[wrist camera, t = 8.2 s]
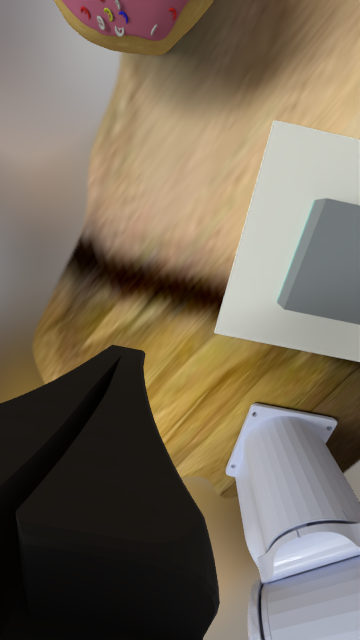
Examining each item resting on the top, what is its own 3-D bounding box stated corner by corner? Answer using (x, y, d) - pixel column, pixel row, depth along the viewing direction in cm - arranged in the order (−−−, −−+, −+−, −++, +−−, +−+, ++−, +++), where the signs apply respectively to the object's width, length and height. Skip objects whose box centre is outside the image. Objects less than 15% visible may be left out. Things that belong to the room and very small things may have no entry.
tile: (283, 309, 17) (366, 326, 17) (326, 198, 14) (425, 219, 14) (276, 301, 18) (353, 317, 19) (314, 199, 16) (403, 219, 16)
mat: (379, 364, 20) (381, 366, 20) (214, 331, 20) (214, 333, 20) (495, 172, 15) (501, 171, 15) (272, 122, 14) (274, 119, 14)
